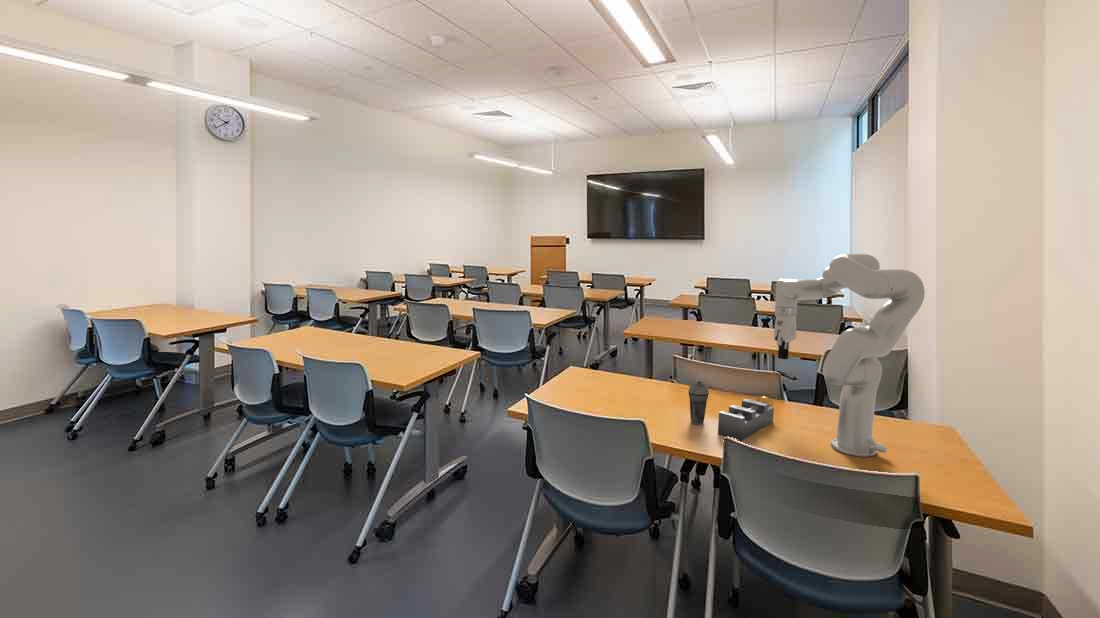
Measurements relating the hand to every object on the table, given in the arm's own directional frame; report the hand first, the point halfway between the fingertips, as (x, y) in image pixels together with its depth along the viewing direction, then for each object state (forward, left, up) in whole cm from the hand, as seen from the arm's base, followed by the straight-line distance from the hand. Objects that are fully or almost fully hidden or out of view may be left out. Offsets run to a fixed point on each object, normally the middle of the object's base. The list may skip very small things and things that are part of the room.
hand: (783, 358), depth 189 cm
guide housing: (+2, +24, -22) cm, 33 cm away
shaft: (+2, +21, -20) cm, 29 cm away
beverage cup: (+17, +32, -22) cm, 43 cm away
